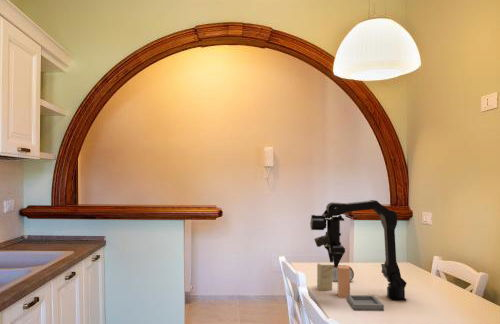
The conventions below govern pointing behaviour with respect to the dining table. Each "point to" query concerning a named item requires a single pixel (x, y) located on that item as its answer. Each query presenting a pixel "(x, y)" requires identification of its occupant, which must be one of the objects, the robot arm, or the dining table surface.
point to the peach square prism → (343, 281)
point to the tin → (335, 273)
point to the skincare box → (324, 276)
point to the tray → (365, 302)
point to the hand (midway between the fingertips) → (333, 264)
